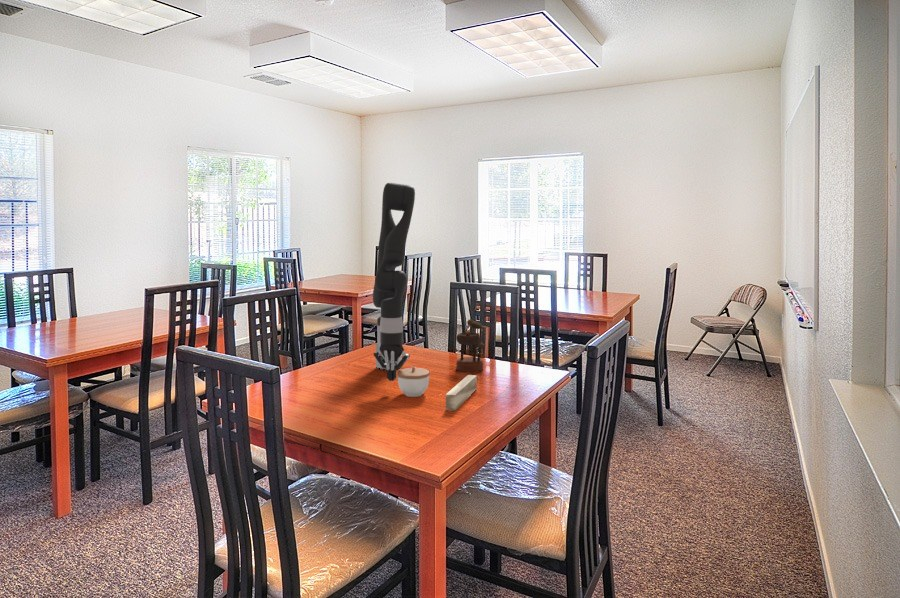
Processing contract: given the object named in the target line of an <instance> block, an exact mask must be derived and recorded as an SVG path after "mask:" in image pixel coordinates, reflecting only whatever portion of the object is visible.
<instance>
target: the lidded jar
mask: <svg viewBox="0 0 900 598" xmlns="http://www.w3.org/2000/svg"><path fill="white" fill-rule="evenodd" d="M396 376H397V382H398V383H397V384H398V387H399V390H400V392H402V393H403V394H404V396H405V395H406V396H405V397H410V398H411V397H412V398H414V397H415V398H417V397H421V396H422V395H423V394H424V393H425V392H426V391H427V389H428V386H429V384H430V371H429V369H426V368H422V367H416V366H411V367H407V368H400V369H398V371H396Z"/></svg>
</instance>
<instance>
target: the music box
mask: <svg viewBox="0 0 900 598" xmlns="http://www.w3.org/2000/svg"><path fill="white" fill-rule="evenodd" d="M466 323H467V327H466V328H469V327H471V328H473V330H474V329H476V332H473V331H472V332H471V330H470V329H467V330H466V331H465V332H459V333H458V334H457V336H456V338H455V339H456V342H457V343H458V344H459V345H460V349H457V347H448V350H454V351H455V353H458V352H459V353H460V358H458V359H457V360H456V364H455V365H456V371H458V372H462V373H478V372H482V371H483V370H484V361H483V360H482V359H485V353H483V352H484V351H483V349H481V351H480V352H479V349H476V348H477V347H478V348H485V347H486V344H485V343H480V342H481V336H480V333H479V330H480V329H481V330H483V328H484V329H487V328H488V326H485V325H483V324H481V323H479V322H478V321H473V319H468V320H467V322H466ZM464 346H466V349H465V350H464ZM470 346H472V348H473V349H472V350H471V349H470ZM464 353H465V354H466V355H470V354H471V356H466V357H465V356H464Z"/></svg>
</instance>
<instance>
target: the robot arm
mask: <svg viewBox="0 0 900 598" xmlns="http://www.w3.org/2000/svg"><path fill="white" fill-rule="evenodd" d="M415 200H416V189H415V187H414V186H413V185H410V184H405V183H403V184H402V183H395V182H387V183H386V184H385V185H384V187H383V190H382V202H381V203H382V207H381V226H380V234H379V239H378V240H379V241H378V250H377V264H376V266H377V267H376V273H375V277H374V278H375V279H374V285H373V290H372V291H373V292H372V303H373V305H374V307H376V308H378V309H379V308H380V316H378V317H377V319H376V320H377V321H376V322H377V323H376V327H377V328H376V329H377V330H376V331H377V333H376V335H377V342H376V344H375V351H374V352H373V356H374V358H375V368H376V367H377V368H376V369H379V368H380V370H383V369H385V370H384V371H386V379H387V380H388V381H390V382H394V381H395V380H396V379H397V370H400V369H402V367H403V366H404V364H405V363H406V362H407V361H408V359H409V358H410V356H411V355H410V354H409V353H406V351H405V348H404V346H403V345H404V343H403V342H404V339H403V338H404V335H403V334H404V331H403V330H404V325H403V300H404V295H405V291H406V288H407V285H408V276H407V274H406V273H405V271H402V270H396V268H398V267H401V266H403V264H404V263H405V253H406V245H407V244H406V243H407V238H408V234H409V230H410V226H411V221H412V217H413V211H414V208H415V207H414V205H415ZM392 211H398V212H403V213H402V217H401V219H400V220H399V222H397V224H396V222H395V221H394V217H393V215H392Z"/></svg>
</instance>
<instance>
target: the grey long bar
mask: <svg viewBox="0 0 900 598" xmlns="http://www.w3.org/2000/svg"><path fill="white" fill-rule="evenodd" d="M477 378H478V376H477V375H476V374H475V375H474V374H473V375H472V374H468V375H466V376H465V377H464V378H463V379H462V380H460V382H458V383H457V384H455V385H454V387H452V388H451V389H450V390H449V391H448V392H447V393H446V394H445V411H450V412H455V411H457V410H458V409H459V408H460V407H461V405H463V404H464V403H465V402H466V401H467V400H468V399H469V398H470V397H471V396H472V395H473V394H474V393H475V392H476V391H477V390H478V389H477V381H478V379H477ZM475 390H476V391H475ZM474 391H475V392H474ZM473 392H474V393H473ZM472 393H473V394H472ZM471 394H472V395H471Z"/></svg>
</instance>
